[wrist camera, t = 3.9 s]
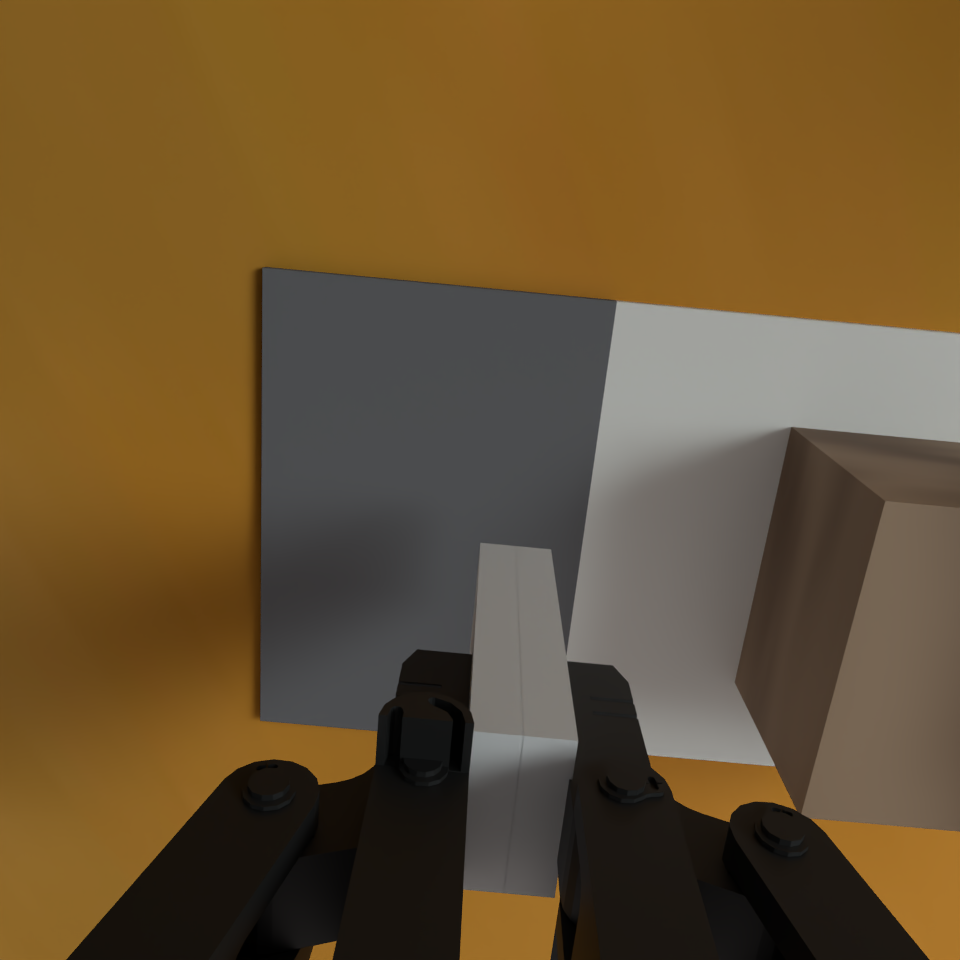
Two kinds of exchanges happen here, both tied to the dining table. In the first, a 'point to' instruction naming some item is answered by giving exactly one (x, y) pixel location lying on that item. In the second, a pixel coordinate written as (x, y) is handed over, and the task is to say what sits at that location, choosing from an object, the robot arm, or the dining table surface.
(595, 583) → the tile
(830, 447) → the walnut block
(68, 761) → the dining table surface
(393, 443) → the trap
